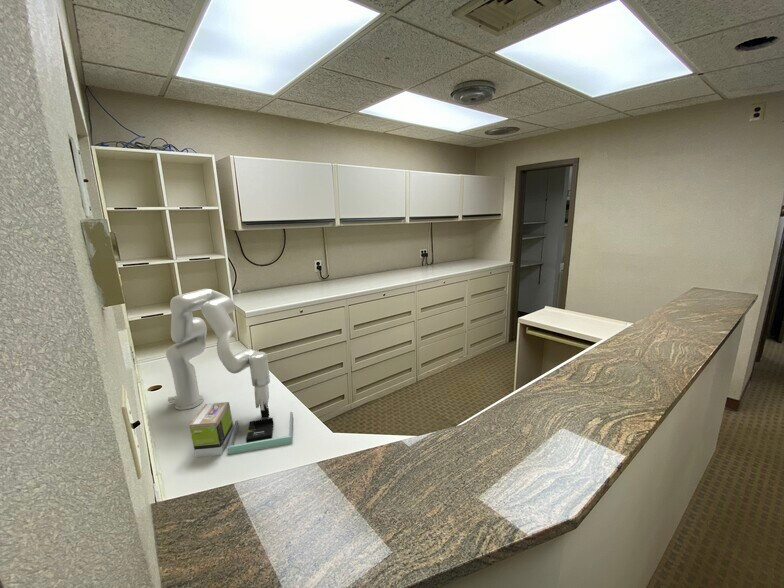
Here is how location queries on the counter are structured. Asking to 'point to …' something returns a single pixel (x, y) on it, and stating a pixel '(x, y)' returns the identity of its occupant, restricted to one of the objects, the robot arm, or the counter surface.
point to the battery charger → (260, 430)
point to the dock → (258, 444)
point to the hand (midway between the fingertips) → (265, 416)
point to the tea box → (211, 429)
